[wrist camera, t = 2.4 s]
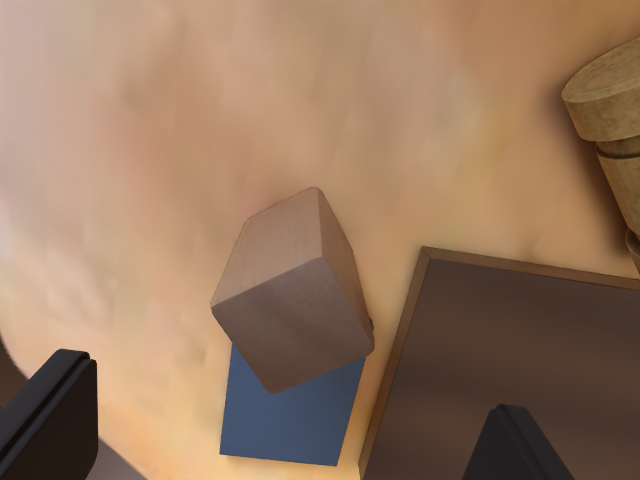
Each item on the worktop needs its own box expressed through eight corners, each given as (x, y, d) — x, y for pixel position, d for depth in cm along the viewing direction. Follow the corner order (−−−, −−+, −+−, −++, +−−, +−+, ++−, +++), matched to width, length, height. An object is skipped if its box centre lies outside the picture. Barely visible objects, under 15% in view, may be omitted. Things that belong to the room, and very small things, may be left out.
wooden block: (282, 285, 21) (268, 402, 13) (242, 219, 19) (201, 308, 12) (354, 252, 20) (381, 355, 13) (317, 181, 19) (324, 251, 11)
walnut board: (421, 245, 20) (430, 258, 19) (780, 301, 22) (812, 317, 21) (357, 463, 26) (360, 486, 24) (649, 494, 27) (667, 516, 26)
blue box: (238, 300, 21) (236, 308, 20) (371, 318, 22) (374, 327, 21) (221, 443, 25) (218, 455, 24) (335, 455, 25) (336, 467, 25)
